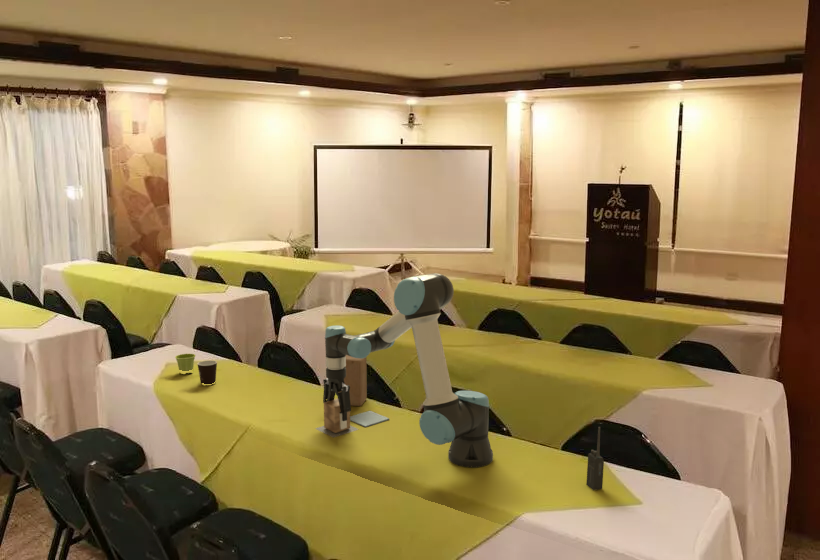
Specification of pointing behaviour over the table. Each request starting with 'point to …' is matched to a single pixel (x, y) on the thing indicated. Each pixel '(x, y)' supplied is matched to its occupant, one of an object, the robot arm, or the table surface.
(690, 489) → the table surface
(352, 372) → the wooden block
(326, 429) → the plate
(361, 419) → the pad
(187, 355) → the plant pot
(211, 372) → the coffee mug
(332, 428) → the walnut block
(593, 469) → the walkie-talkie
